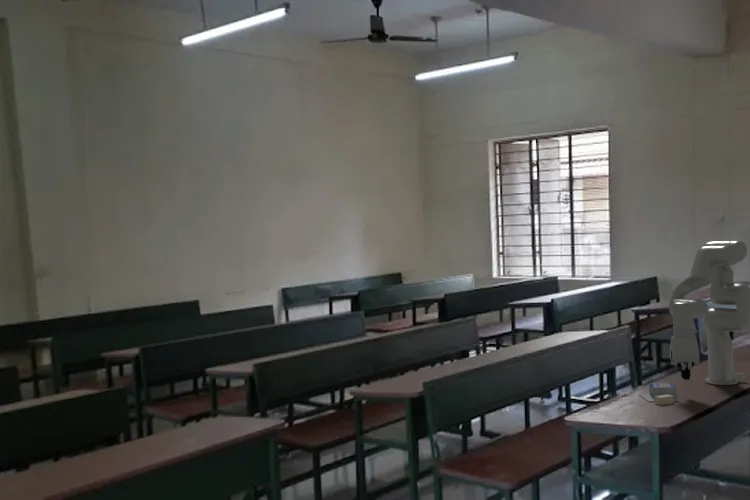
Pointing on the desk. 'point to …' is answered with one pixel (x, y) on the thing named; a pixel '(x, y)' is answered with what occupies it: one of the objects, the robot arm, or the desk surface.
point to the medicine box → (662, 389)
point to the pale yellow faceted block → (664, 399)
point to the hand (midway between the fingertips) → (685, 379)
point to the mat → (650, 397)
